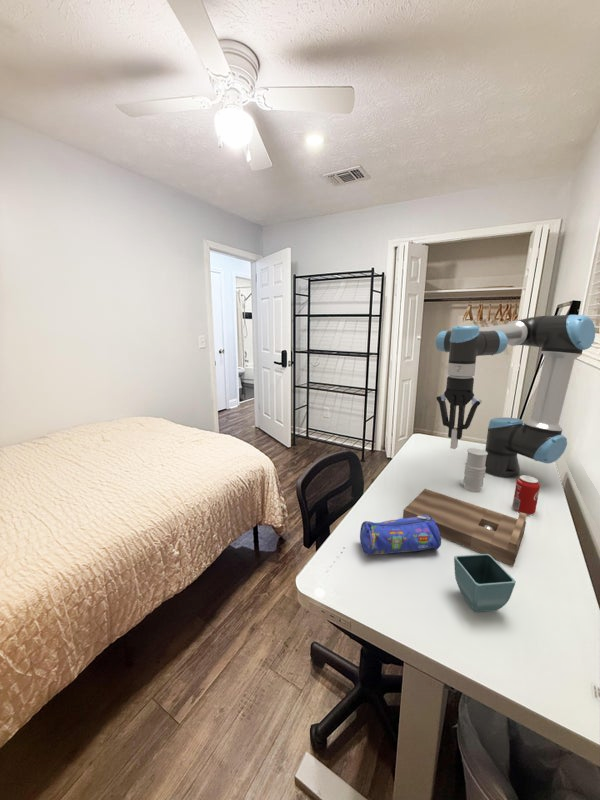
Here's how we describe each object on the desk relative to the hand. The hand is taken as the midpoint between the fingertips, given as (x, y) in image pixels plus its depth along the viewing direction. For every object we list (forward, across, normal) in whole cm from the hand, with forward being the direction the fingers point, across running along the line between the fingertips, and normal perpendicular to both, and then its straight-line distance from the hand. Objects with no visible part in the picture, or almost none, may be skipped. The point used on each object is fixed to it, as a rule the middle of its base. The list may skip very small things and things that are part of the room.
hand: (453, 447), depth 104 cm
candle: (+23, +3, +20) cm, 30 cm away
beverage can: (+23, +20, +13) cm, 33 cm away
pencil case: (+21, -4, -31) cm, 38 cm away
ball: (+20, +14, -10) cm, 26 cm away
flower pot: (+21, +17, -37) cm, 46 cm away
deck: (+22, +6, -9) cm, 25 cm away
